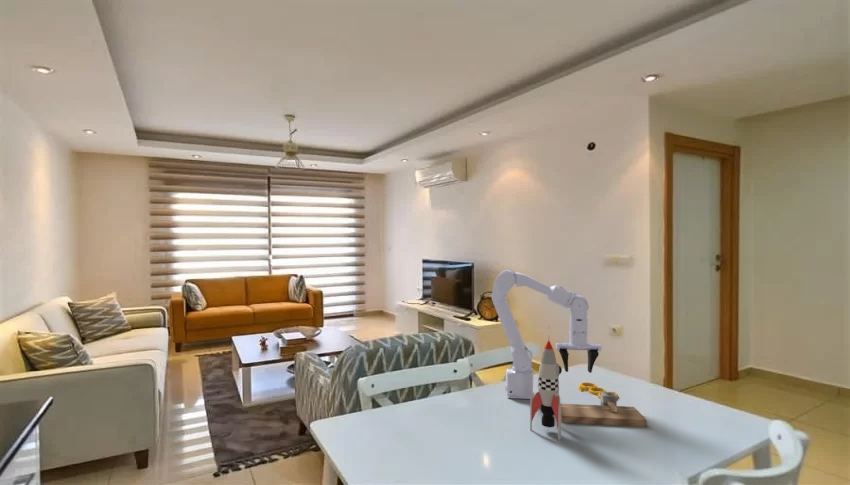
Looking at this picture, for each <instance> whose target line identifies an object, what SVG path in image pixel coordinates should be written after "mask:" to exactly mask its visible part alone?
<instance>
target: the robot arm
mask: <svg viewBox="0 0 850 485" xmlns="http://www.w3.org/2000/svg"><path fill="white" fill-rule="evenodd" d="M514 286H515V287H517V288H519V287H520V288H521V287H527V288H528V289H532V290H534V291H536V292H539V293H541V294H543V295H546V296H547V299H548V301H550V302H552V303H555V304H556V305H559V306H561V307H563V308H566V309H570V311H569V312H570V316H569V334H568V335H569V338H568V339H569V340H568V341H569V342H556V343H555V349H556V351H558V352H559V354H560V356H561V359H562V362H563V367H564V371H565V372H566V373H568V372H569V355H570V353H569V352H568V350H569V351H570V350H571V351H587V371H588V373H589V374H591V373H592V372H593V368H594V364H595V362H596V360H597V358H598V357H599V354H600V353H599V352H602V344H599V343H589V342H588V311H589V307H590V306H589V303H588V301H587V299H586V298H585V297H584V296H583V295H581V294H578V293H577V292H576V291H570V290H568V289H566V288H564V286H563V285H561V284H559V285H556V284H554V285H552V286H550V285H547V284H546V283H544V282H541V281H540V280H537V279H536V278H533V277H531V276H529V275H527V274H525V273H522V272H518V271H514V270H512V269H509V268H508V269H503V270H502V271H501V272H499V273H498V275H497V276H496V277H495V279H494V283H493V288H492V292H491V301H492V304H493V306H494V308H495V311H496V313H497V316H498V319H499V321H500V324H501V326H502V329H503V332H504V334H505V336H506V340H507V341H508V344H509V347H510V352H511V355H512V367H511V368H507V369H506V370H505V387H504V388H505V393H506V397H507V398H508V399H523V400H524V399H525V400H530V398H531V390H532V400H533V398H534V396H535V393H534V368H533V367H532V365H533V364H532V363H533V362H532V361H533V354H532V351H531V350H530V349H529V348H528V347H527V345H526V343H525V341H524V340H523V337H522V335H521V333H520V331H519V327H518V325H517V323H516V320H515V318H514V315H513V312H512V311H511V308H510V305H509V303H508V300H507V297H508V294H509V293H510V290H511V289H512V288H513V287H514Z"/></svg>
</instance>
